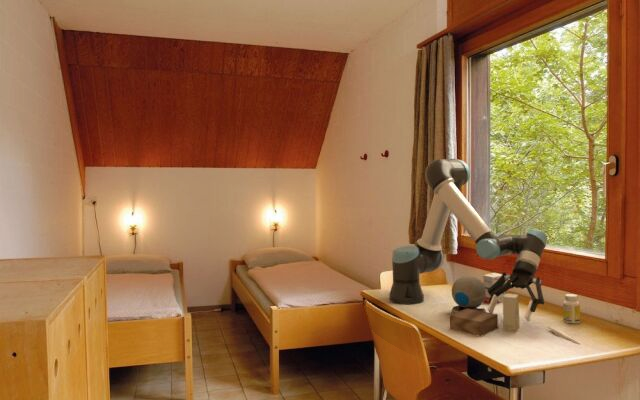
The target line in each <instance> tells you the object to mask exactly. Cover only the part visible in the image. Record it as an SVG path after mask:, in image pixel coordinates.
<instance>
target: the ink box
mask: <svg viewBox="0 0 640 400" xmlns="http://www.w3.org/2000/svg"><path fill="white" fill-rule="evenodd" d="M502 274H503V273H498V272H492V273H487V274H484V275H483V285H484V287H485V290H486V297H485V300H484V302H483V303H487V304H490V303H489V299H490V297H491V295H490V294H489V293H488V291H487V290H488V289H489V288H490V287H491V286H492V285H493V284H494V283H495V282H496V281H497V280H498V279H499V278H500V277H501V276H502ZM505 283H506V282H505ZM505 283H504V284H505ZM505 294H506V292H504V293H502V294H501V295H499V296H498V297H497V298H498V301H497V303H496V304H498V303H503V296H504V295H505Z"/></svg>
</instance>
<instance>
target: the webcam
mask: <svg viewBox="0 0 640 400" xmlns="http://www.w3.org/2000/svg"><path fill="white" fill-rule="evenodd" d="M451 297H452V299H453V301H454V302H455V304H456V305H455V306H453V307H452V309H451V313H452V314H454V313H457V312H459V311H462V310H464V309H467V308H468V309H473V310H478V311H483V312H487V310H486V309H485V307H482V308H481V307H480V306H481V305H482V304H483V303H485V302H484V300H485V297H486V290H485V287H484V282H482V281H481V280H480V279H479V278H478V277H475V276H473V275H464V276H460V277H458V278H457V279H456V280H455V281H454V282H453V284H452V287H451ZM479 307H480V308H479ZM452 314H451V315H452Z"/></svg>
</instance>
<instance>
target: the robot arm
mask: <svg viewBox="0 0 640 400" xmlns="http://www.w3.org/2000/svg"><path fill="white" fill-rule="evenodd" d="M424 175H425V176H424V178H425V181H426V183H427V185H428V187H429V188H430V190H431V191H432V192H433V195H434V196H433V198H432V201H431V205H430V207H429V208H430V209H429V211H428V215H427V218H426V221H425V225H424V228H423V231H422V234H421V237H420V238H419V239H417V240H416V243H415V245H405V246H399V247H395V248H394V249H393V251H392V257H391V261H392V264H391V265H392V285H391V287H390V292H389V295H388V296H389V298H388V299H389V301H390V302H392V303H393V304H394V303H395V304H400V305H402V304H403V305H414V304H420V303H422V302H424V300H425V299H424V297H425V295H424V293H423V289H422V286H421V284H420V275H421V274H425V273H430V272H433V271H436V270H438V269H439V268H440V267H441V265H442V264H443V261H444V254H443V251H442V250H443V247H442V245H441V241H442V239H443V234H444V232H445V229H446V225H447V223H448V219H449V217H450V213H452V215H454V217H455V218H456V220H458V222H459V223H460V224H461V225H460V226H462V227H463V228H464V230H465V231H466V233H467V234H468V235H469V236H470V238H471V239H472V241H474V243H475V244H476V247H475V249H476V250H475V251H476V254H477V255H478V256H479V257H480V258H481V259H484V260H492V259H496V258H499V257H504V256H508V255H518V256H517V258H516V262H515V263H514V266H513V269H512V273H511V274H507V272H503V273H501V274H502V276H501V277H500V278H499V279H498V280H497V281H496V282H495V283H494V284H493V285H492V286H491V287H490V288H489V289H488V290H487V291H488V293H489V294H490V295H491V297H490V299H489V303H488V304H489V305H488V306H487V307H488V308H487V312H488V313H493V314H494V310H495V307H496V305H497V304H498V303H497V301H498V298H497V297H498V296H499V295H501V294H502V293H504V292H505V293H506V292H507V291H508V290H510V289H513V288H515V289H519V288H520V289H521V290H523V289H526V291H527V292H528V294H529V296H530V297H531V300H529V302H528V306H527V307H526V311H525V314H524V319H525V320H526V321H527V322H530V319H531V318H532V317H531V316H532V314H533V313H535V312H536V310H537V307H538V305H544V304H545V299H544V294H543V290H542V283H543V282H542V279H541V278H540V276H537V277H536V278H535V276H536V273H537V270H538V267H539V265H540V262H541V258H542V255H543V253H544V250H545V248H547V247H546V245H547V241H548V235H547V234H546V233H545V232H544V231H543V230H541V229H537V228H532V229H529V230H528V231H527V233H526V234H521V235H519V234H517V235H516V234H494V232H493V231H492V230H491V229H490V227H489V226H487V224H486V223H485V221H484V219H482V217H481V216H480V214H478V212H477V211H476V210H475V209H474V207H473V206H472V205H471V203H470V202H469V201H468V199H466V197H465V196H464V195H463V193H462V192H461V191H462V187H463V186H464V185H466V184H467V183H468V182H469V181H470V177H471V170H470V167H469V166H468V164H467V163H466V162H465V161H463V160H461V159H457V158H437V159H434V160H432V161H431V162H429V163H428V165H426V168H425V171H424ZM504 283H505V284H504ZM533 283H534V284H535V289H536V293H537V294H536V295H537V298H536V295H535V294H534V292H533V291H532V288H531V286H530V285H531V284H533Z"/></svg>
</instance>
